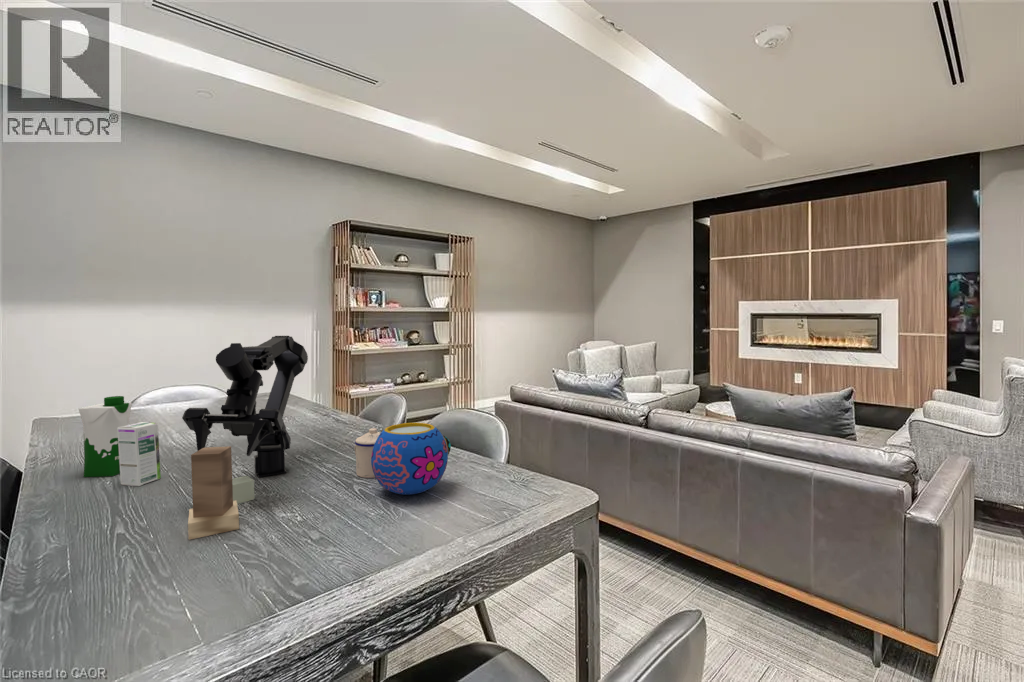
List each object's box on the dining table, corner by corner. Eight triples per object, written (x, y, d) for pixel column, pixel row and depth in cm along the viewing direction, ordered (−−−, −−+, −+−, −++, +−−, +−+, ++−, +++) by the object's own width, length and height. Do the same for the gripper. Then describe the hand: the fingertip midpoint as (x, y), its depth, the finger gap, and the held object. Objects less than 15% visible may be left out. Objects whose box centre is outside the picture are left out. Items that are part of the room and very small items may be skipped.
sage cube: (247, 494, 108) (246, 475, 108) (254, 499, 105) (254, 480, 105) (225, 500, 104) (224, 480, 104) (232, 505, 101) (231, 485, 101)
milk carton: (114, 477, 120) (110, 399, 119) (76, 478, 119) (72, 400, 118) (138, 466, 128) (135, 394, 127) (103, 467, 128) (100, 395, 127)
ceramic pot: (462, 483, 114) (462, 423, 114) (418, 511, 98) (417, 440, 97) (404, 474, 122) (403, 417, 121) (355, 497, 105) (353, 432, 105)
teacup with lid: (398, 471, 124) (398, 427, 123) (370, 481, 116) (369, 434, 116) (370, 463, 131) (369, 422, 130) (341, 472, 123) (340, 428, 123)
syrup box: (139, 486, 113) (136, 427, 112) (119, 485, 114) (116, 426, 113) (161, 478, 119) (159, 422, 118) (142, 477, 120) (139, 421, 119)
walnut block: (205, 507, 93) (203, 447, 92) (233, 505, 94) (231, 446, 93) (193, 517, 88) (191, 454, 87) (222, 515, 89) (220, 453, 88)
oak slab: (236, 514, 97) (236, 500, 96) (239, 528, 90) (238, 513, 90) (189, 523, 92) (189, 508, 92) (188, 539, 86) (188, 523, 85)
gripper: (292, 410, 116) (279, 470, 106) (209, 409, 112) (187, 471, 102) (284, 386, 107) (269, 448, 98) (194, 383, 104) (168, 448, 94)
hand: (223, 455), depth 98 cm, fingers open, 9 cm apart
